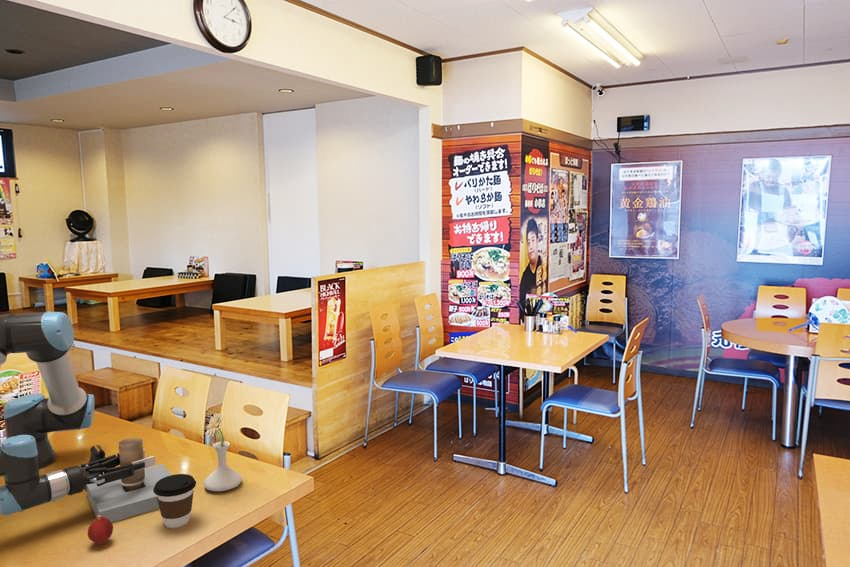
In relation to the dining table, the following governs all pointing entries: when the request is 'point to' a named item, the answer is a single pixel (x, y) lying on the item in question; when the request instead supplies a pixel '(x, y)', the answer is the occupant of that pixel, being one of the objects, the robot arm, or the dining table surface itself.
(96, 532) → the onion
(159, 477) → the slate board
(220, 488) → the flower in vase
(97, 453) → the phone stand
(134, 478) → the walnut peg
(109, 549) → the dining table surface
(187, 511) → the coffee cup
